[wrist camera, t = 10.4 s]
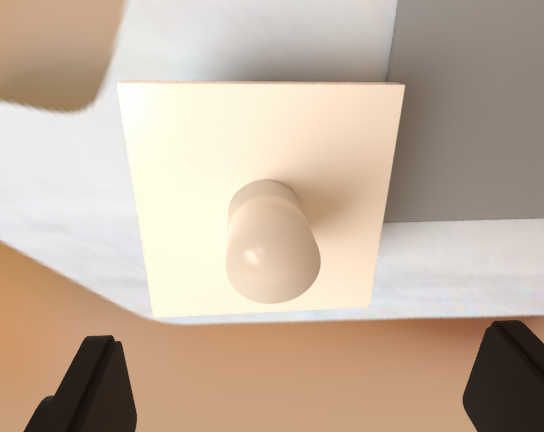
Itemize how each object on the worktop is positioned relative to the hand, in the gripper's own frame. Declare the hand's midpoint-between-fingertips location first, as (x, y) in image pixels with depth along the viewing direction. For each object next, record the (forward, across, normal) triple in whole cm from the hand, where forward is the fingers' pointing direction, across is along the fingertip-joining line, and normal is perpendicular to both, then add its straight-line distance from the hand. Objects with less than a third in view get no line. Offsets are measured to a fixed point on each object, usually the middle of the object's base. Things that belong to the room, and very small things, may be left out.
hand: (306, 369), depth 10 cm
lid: (+10, +1, 0) cm, 10 cm away
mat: (+17, -15, -4) cm, 23 cm away
